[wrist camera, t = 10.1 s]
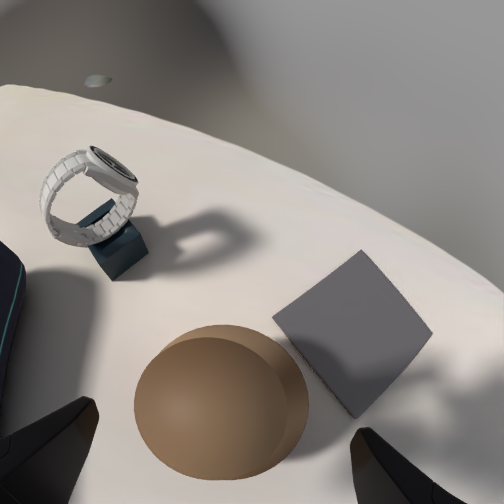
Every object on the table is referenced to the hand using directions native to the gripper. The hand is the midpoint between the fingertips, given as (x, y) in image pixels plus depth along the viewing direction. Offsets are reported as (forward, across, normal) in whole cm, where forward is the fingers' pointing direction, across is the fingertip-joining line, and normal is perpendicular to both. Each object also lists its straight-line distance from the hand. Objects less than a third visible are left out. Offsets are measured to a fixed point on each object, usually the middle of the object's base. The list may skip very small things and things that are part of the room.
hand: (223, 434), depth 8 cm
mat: (+14, -10, +4) cm, 18 cm away
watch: (+18, +12, 0) cm, 22 cm away
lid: (+7, 0, +5) cm, 9 cm away
